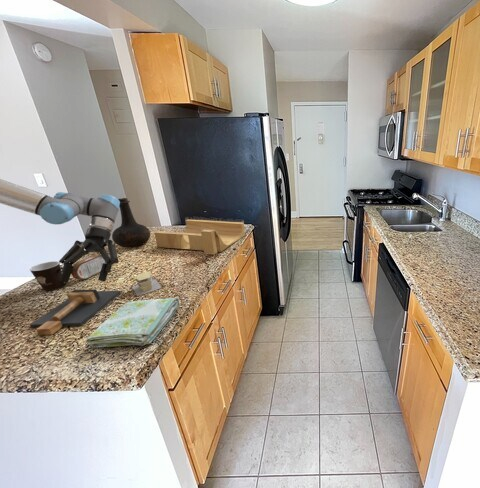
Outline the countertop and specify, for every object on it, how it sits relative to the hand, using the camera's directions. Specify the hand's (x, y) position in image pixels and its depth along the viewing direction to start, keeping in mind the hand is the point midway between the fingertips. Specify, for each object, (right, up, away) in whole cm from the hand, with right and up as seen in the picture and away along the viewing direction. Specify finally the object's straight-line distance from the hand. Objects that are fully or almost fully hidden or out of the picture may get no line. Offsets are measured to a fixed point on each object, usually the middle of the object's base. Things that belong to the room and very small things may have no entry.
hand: (82, 281), depth 97 cm
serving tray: (0, -10, -1) cm, 10 cm away
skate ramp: (+16, +14, +60) cm, 63 cm away
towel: (+29, -14, -10) cm, 33 cm away
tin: (-16, 0, +23) cm, 28 cm away
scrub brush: (0, -5, +2) cm, 5 cm away
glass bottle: (-22, +13, +56) cm, 62 cm away
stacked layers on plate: (+15, -5, +13) cm, 21 cm away
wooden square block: (+1, -14, -12) cm, 19 cm away
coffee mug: (-23, -5, +12) cm, 26 cm away
